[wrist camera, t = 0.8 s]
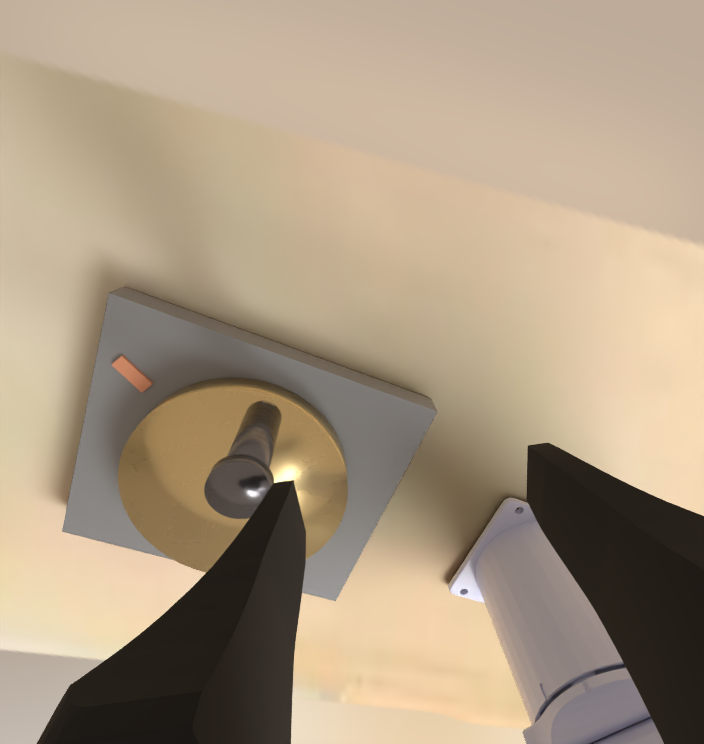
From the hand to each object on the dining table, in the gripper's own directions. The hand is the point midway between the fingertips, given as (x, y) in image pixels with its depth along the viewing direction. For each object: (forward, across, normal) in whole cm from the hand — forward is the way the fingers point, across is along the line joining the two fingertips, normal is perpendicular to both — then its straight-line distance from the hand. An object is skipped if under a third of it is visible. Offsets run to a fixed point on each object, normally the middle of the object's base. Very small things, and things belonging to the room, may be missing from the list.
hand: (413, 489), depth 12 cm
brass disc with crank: (+8, +8, +4) cm, 12 cm away
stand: (+9, +8, +4) cm, 13 cm away
